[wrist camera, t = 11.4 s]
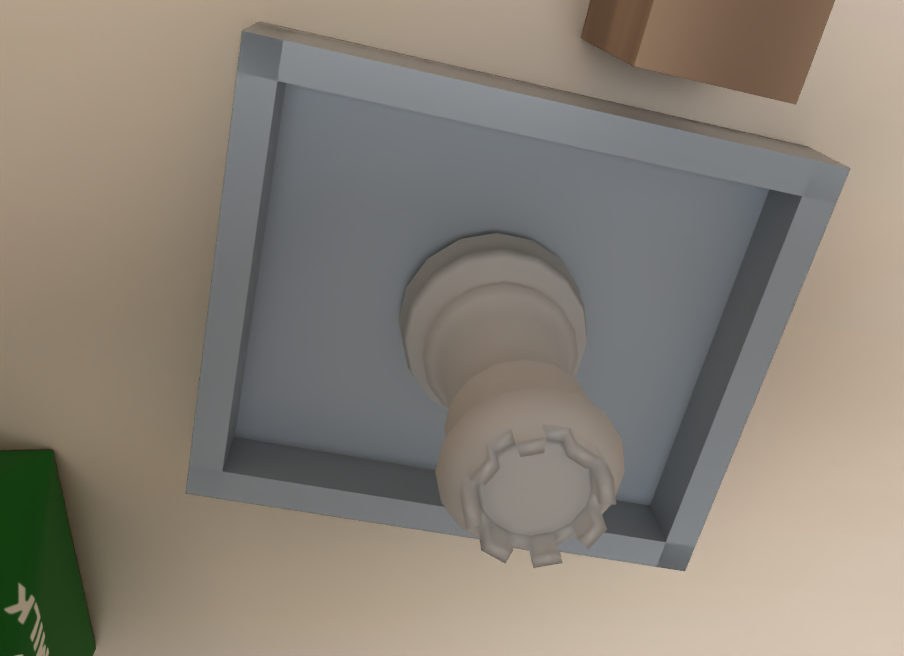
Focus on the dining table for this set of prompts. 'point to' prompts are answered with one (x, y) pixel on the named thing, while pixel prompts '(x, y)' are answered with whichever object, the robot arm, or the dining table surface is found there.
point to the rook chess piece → (511, 396)
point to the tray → (474, 214)
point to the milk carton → (38, 563)
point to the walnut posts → (715, 40)
